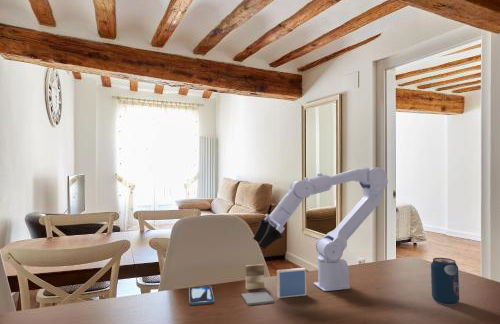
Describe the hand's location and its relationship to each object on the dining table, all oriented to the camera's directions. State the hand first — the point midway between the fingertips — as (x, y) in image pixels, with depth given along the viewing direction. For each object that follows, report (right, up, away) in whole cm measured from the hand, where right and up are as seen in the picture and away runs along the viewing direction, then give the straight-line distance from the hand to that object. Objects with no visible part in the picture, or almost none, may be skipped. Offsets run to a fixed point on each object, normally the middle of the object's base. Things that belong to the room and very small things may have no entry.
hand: (258, 243), depth 109 cm
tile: (+10, -15, -6) cm, 19 cm away
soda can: (+54, -14, -12) cm, 57 cm away
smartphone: (-18, -15, -5) cm, 24 cm away
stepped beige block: (-1, -15, +2) cm, 15 cm away
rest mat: (-1, -15, -8) cm, 17 cm away
